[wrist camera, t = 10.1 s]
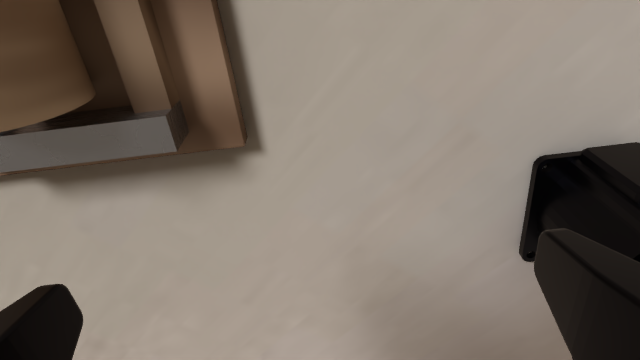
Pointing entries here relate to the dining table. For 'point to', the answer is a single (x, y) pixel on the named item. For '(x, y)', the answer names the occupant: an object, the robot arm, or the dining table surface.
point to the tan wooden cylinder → (38, 64)
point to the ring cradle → (138, 88)
